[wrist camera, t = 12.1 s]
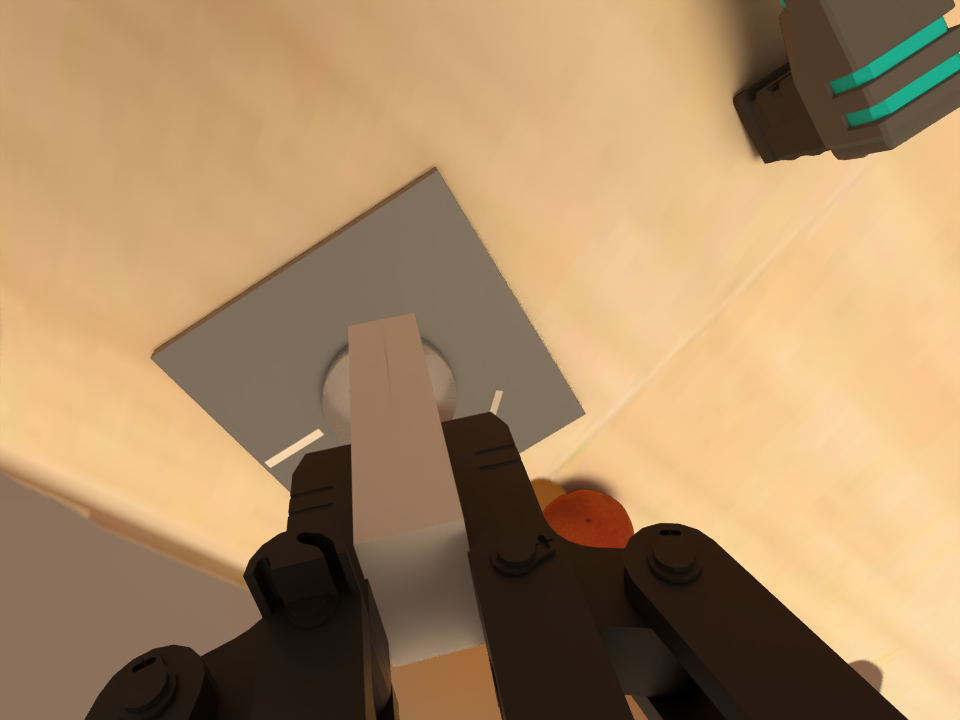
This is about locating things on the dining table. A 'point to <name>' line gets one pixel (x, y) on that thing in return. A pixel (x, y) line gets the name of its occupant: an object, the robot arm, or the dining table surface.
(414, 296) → the panel
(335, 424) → the dial
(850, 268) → the dining table surface
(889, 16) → the gun
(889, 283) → the dining table surface
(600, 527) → the fruit
